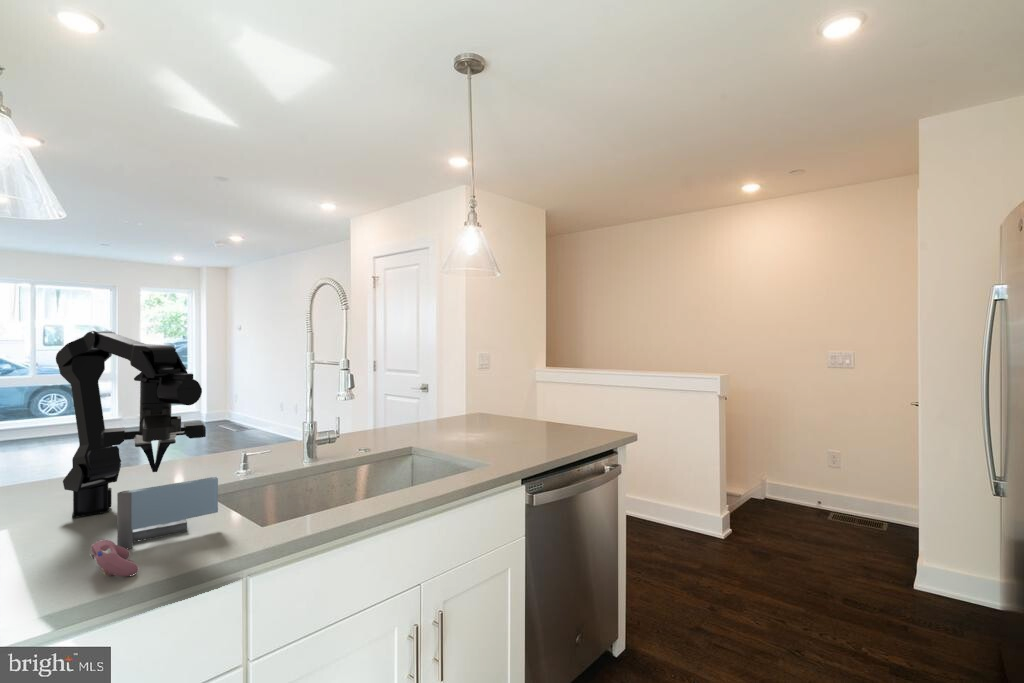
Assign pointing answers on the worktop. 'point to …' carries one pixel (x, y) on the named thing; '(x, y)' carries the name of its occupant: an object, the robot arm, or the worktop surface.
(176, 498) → the light blue flat slab
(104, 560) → the video game controller
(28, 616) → the worktop surface
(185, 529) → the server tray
